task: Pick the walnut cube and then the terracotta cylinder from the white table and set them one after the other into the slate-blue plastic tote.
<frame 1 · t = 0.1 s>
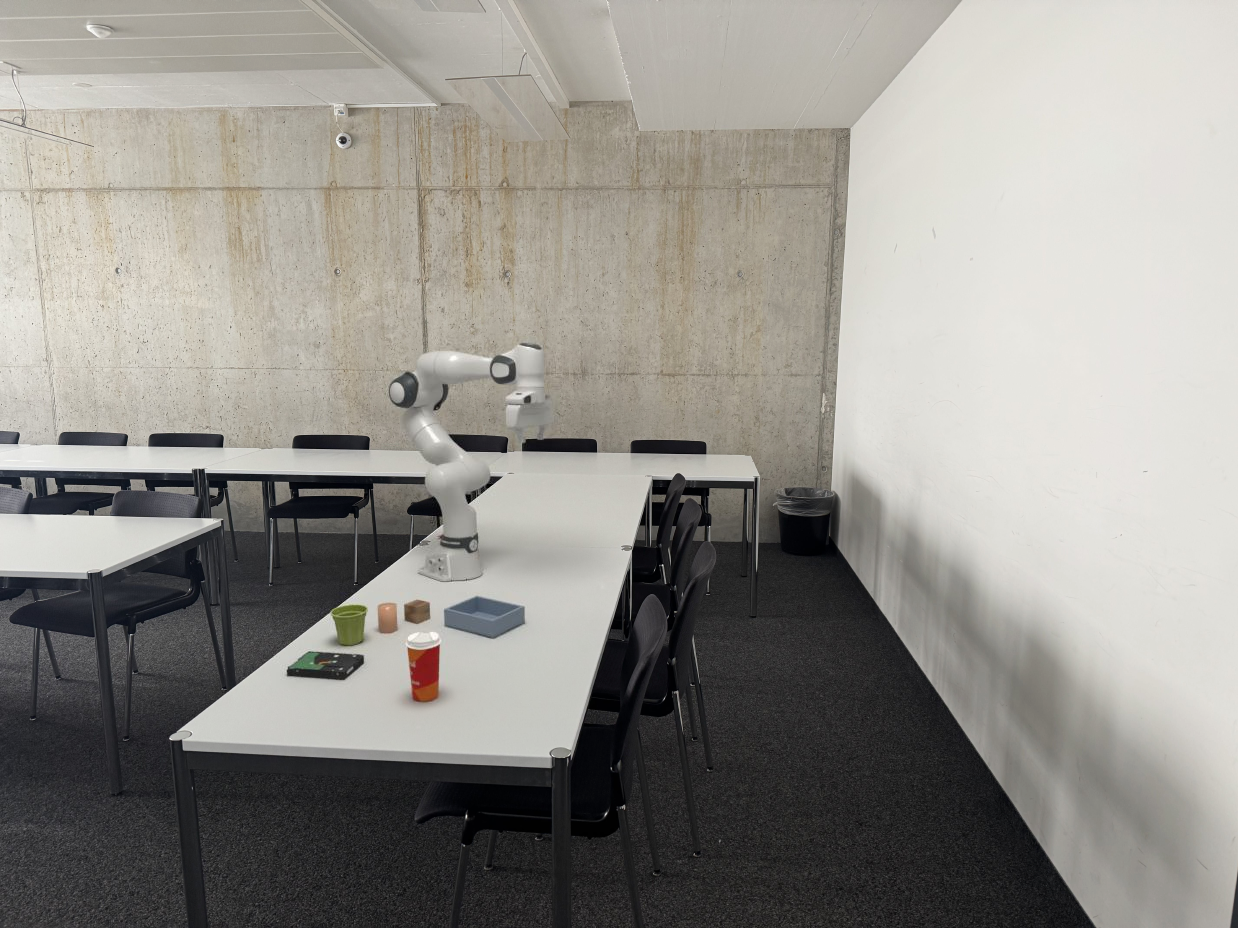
hand: (531, 441, 242), 48 cm above the table, fingers open, 8 cm apart
disk drive: (326, 671, 189), on the table
terracotta cylinder: (388, 630, 215), on the table
walnut cube: (417, 620, 222), on the table
paper cup: (425, 697, 175), on the table
tote: (484, 624, 219), on the table
plant pot: (350, 642, 206), on the table
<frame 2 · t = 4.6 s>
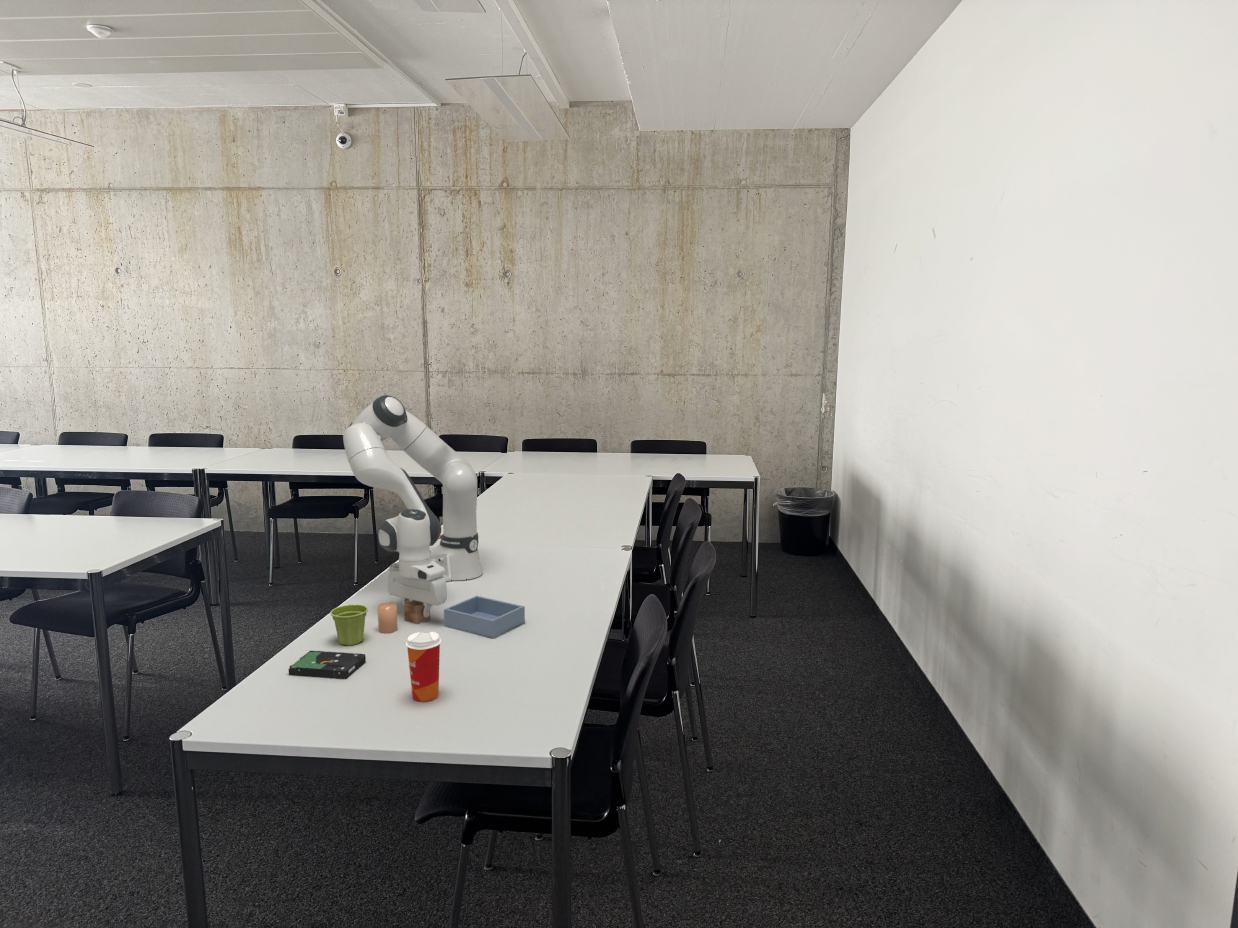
hand: (417, 614, 222), 2 cm above the table, fingers closed on walnut cube, 5 cm apart
walnut cube: (417, 619, 222), on the table, touching gripper
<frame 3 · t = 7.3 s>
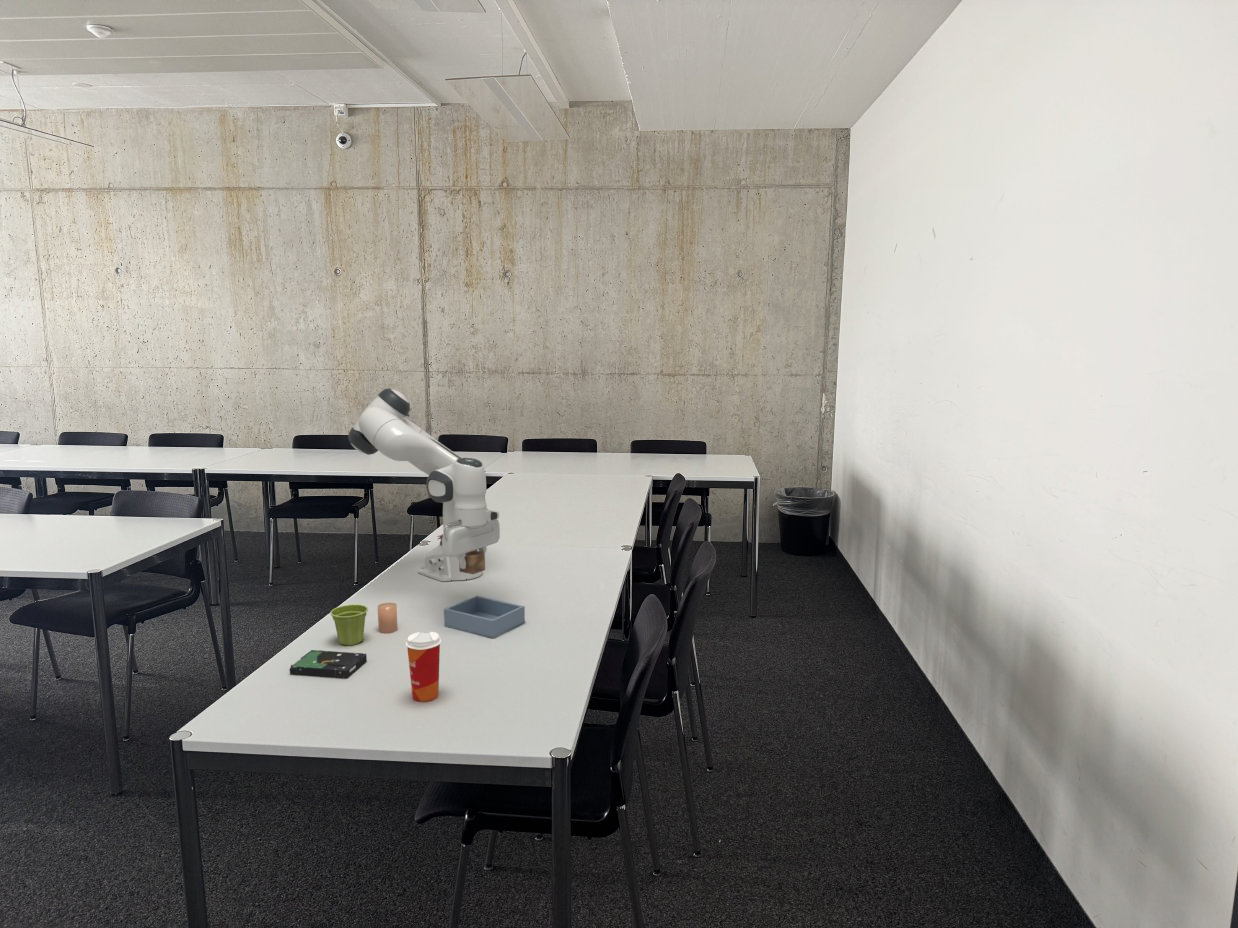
hand: (472, 565, 218), 17 cm above the table, fingers closed on walnut cube, 5 cm apart
walnut cube: (472, 570, 218), point 15 cm above the table, touching gripper
when the fingers open (4 cm above the table, at t = 10.0 s): walnut cube drops 1 cm, resting on tote.
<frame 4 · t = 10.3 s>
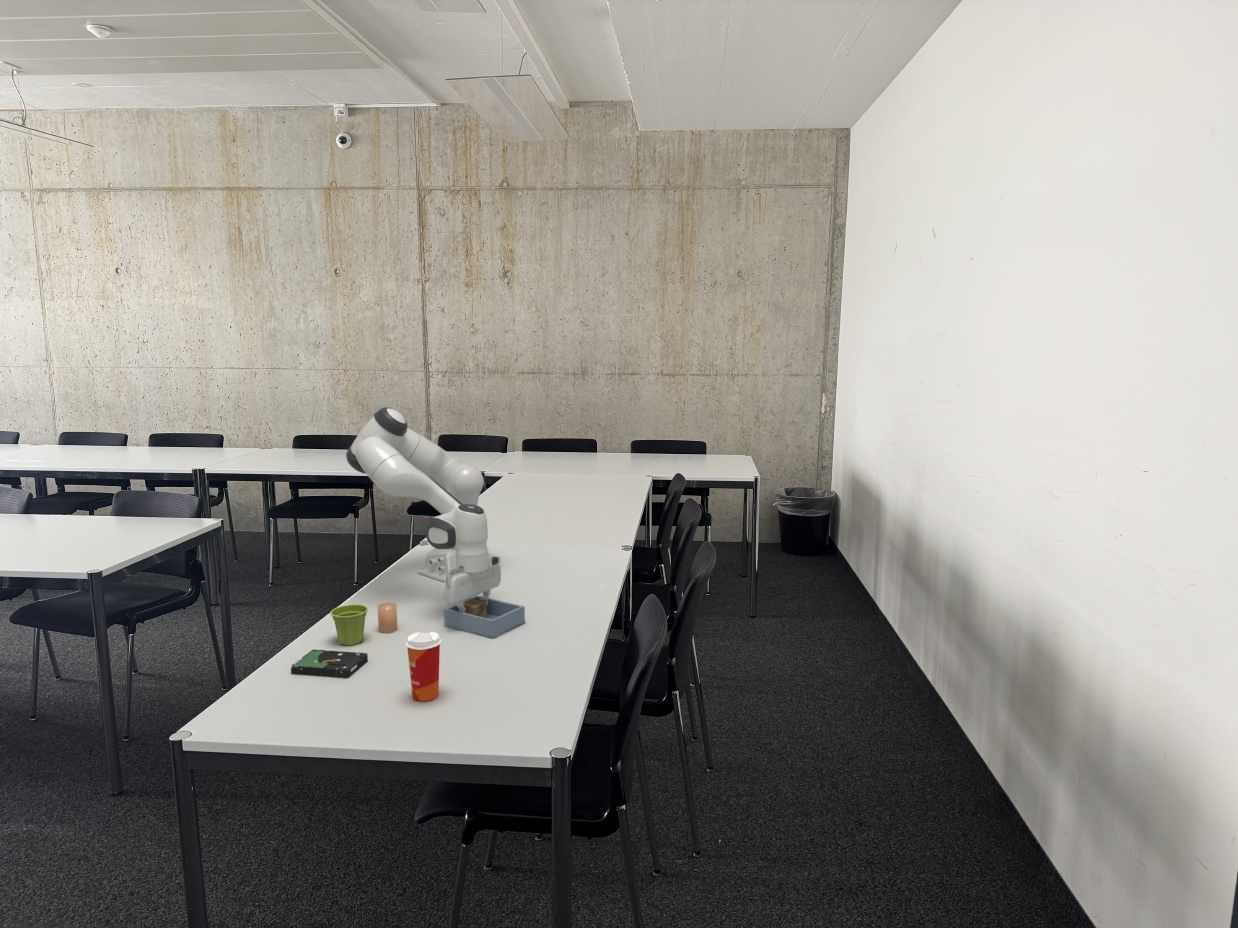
hand: (473, 609, 220), 4 cm above the table, fingers open, 7 cm apart
walnut cube: (474, 620, 221), point 1 cm above the table, touching tote
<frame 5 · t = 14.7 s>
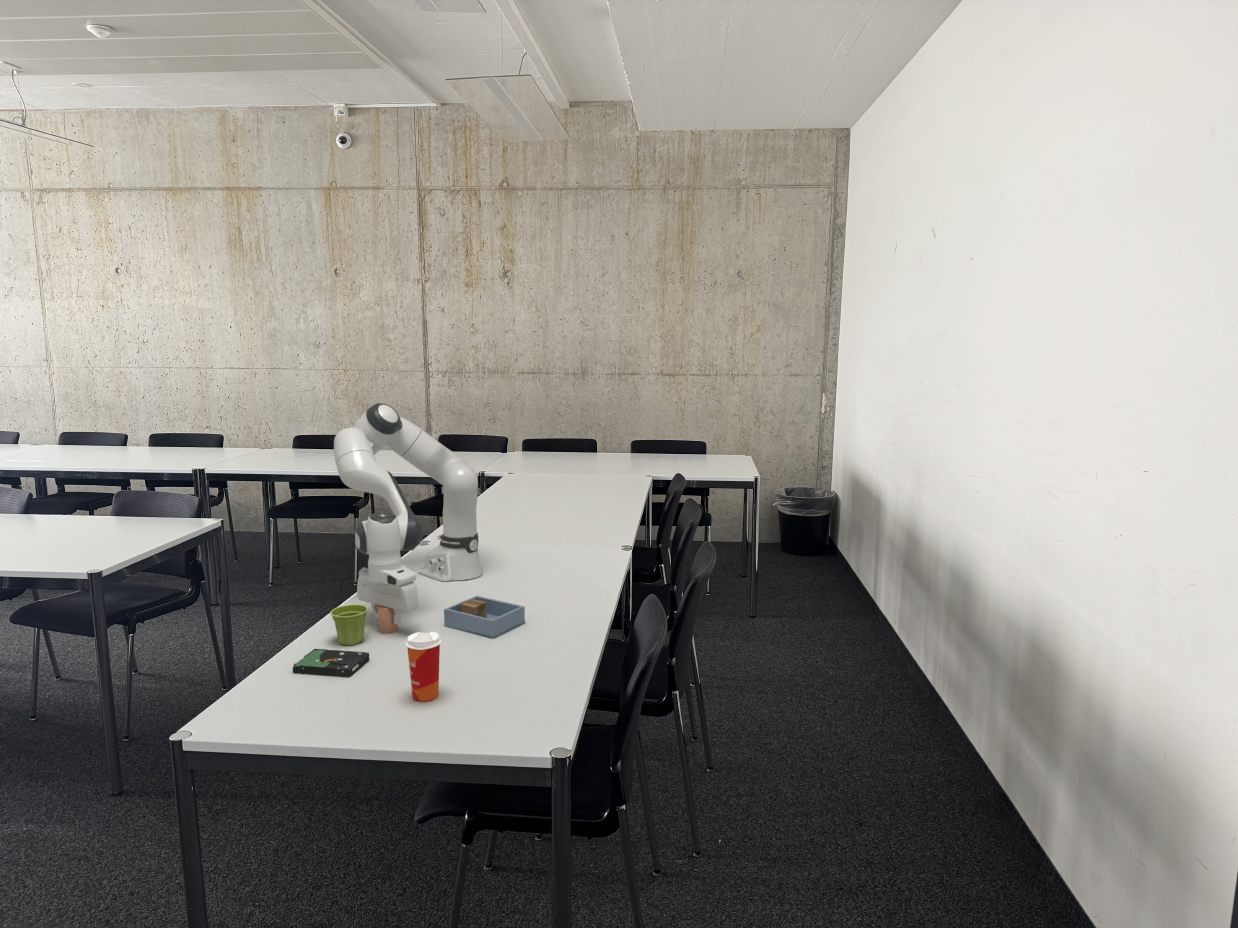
hand: (387, 620, 214), 3 cm above the table, fingers closed on terracotta cylinder, 5 cm apart
terracotta cylinder: (388, 629, 215), on the table, touching gripper
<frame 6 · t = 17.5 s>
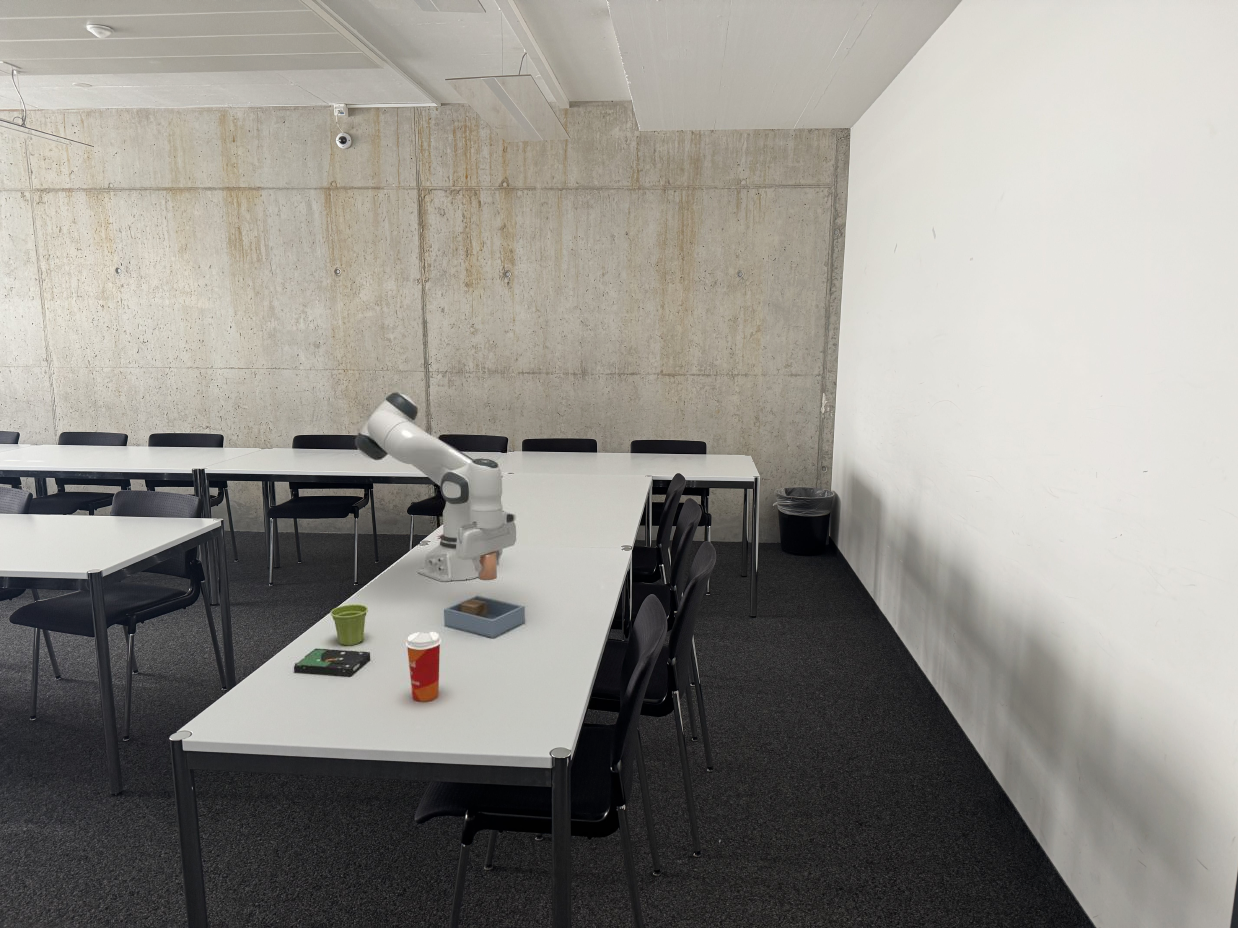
hand: (487, 568, 214), 17 cm above the table, fingers closed on terracotta cylinder, 5 cm apart
terracotta cylinder: (487, 577, 214), point 15 cm above the table, touching gripper
when the fingers open (5 cm above the table, at t = 20.5 s): terracotta cylinder drops 1 cm, resting on tote.
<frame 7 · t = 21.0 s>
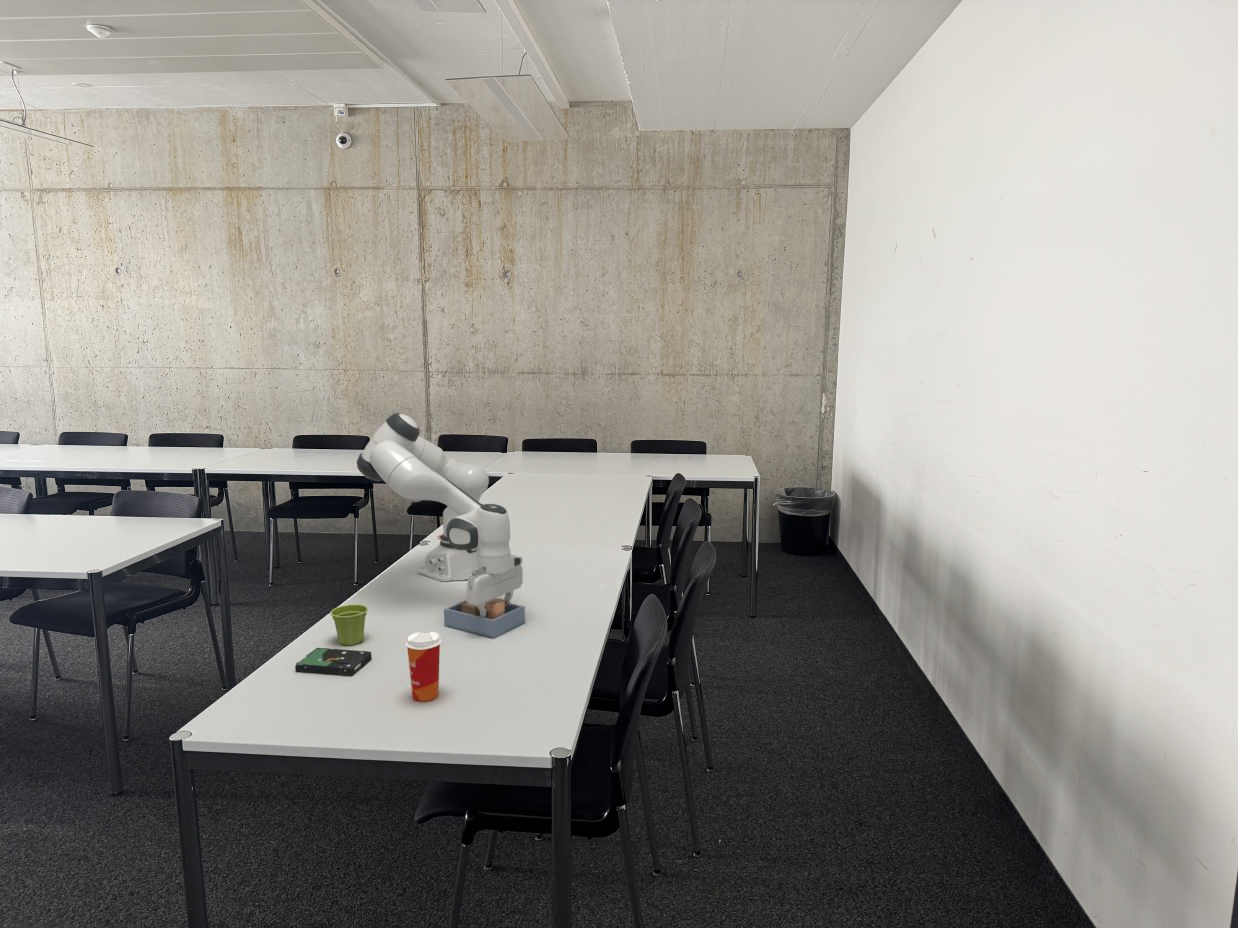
hand: (495, 611, 216), 5 cm above the table, fingers open, 8 cm apart
terracotta cylinder: (495, 625, 217), point 1 cm above the table, touching tote
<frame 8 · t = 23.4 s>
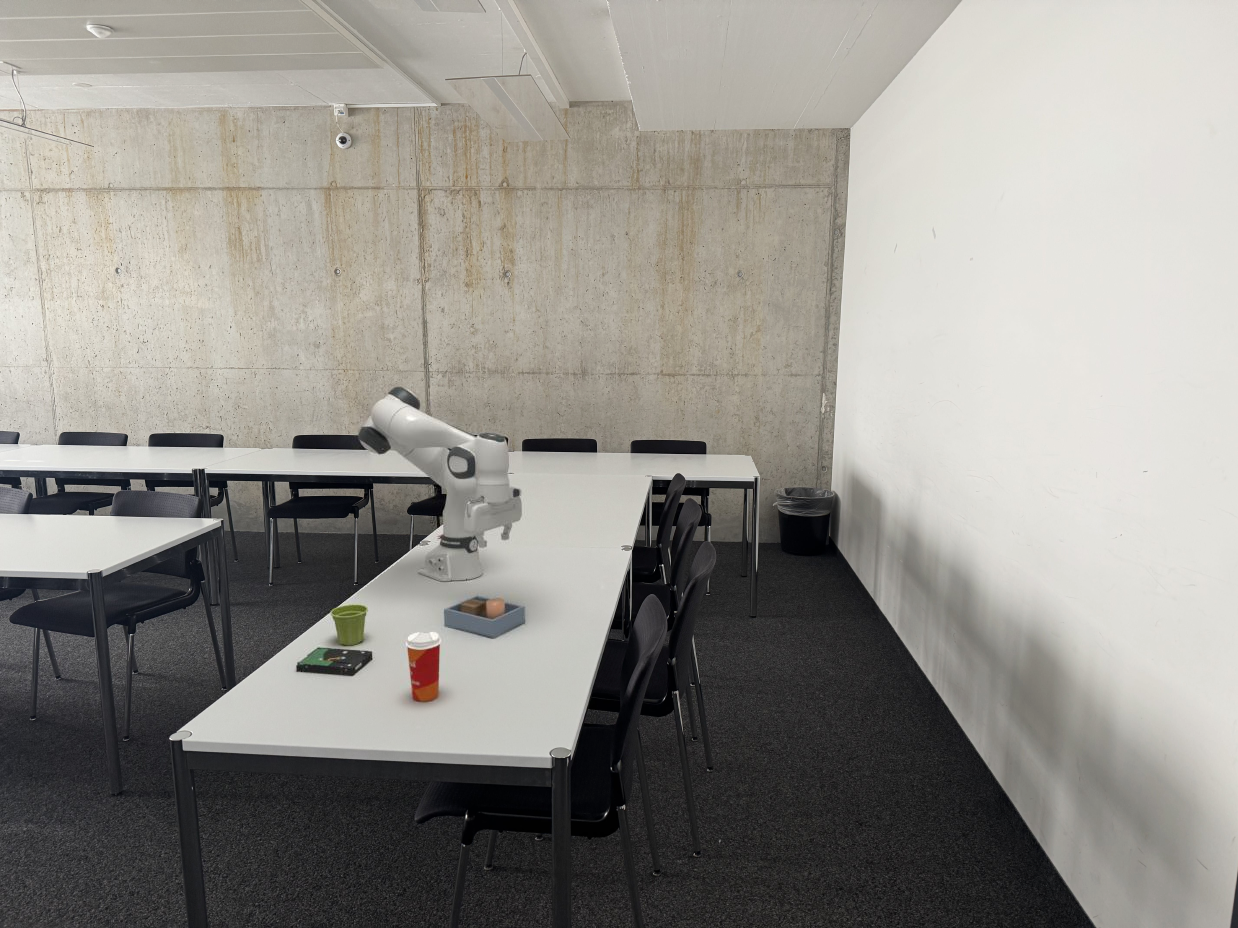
hand: (494, 543, 213), 24 cm above the table, fingers open, 8 cm apart
at the end: walnut cube inside the target area on the tote (4.0 cm from its centre), point 0.6 cm above the tote's base; terracotta cylinder inside the target area on the tote (4.0 cm from its centre), point 0.6 cm above the tote's base; the gripper is holding nothing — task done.
